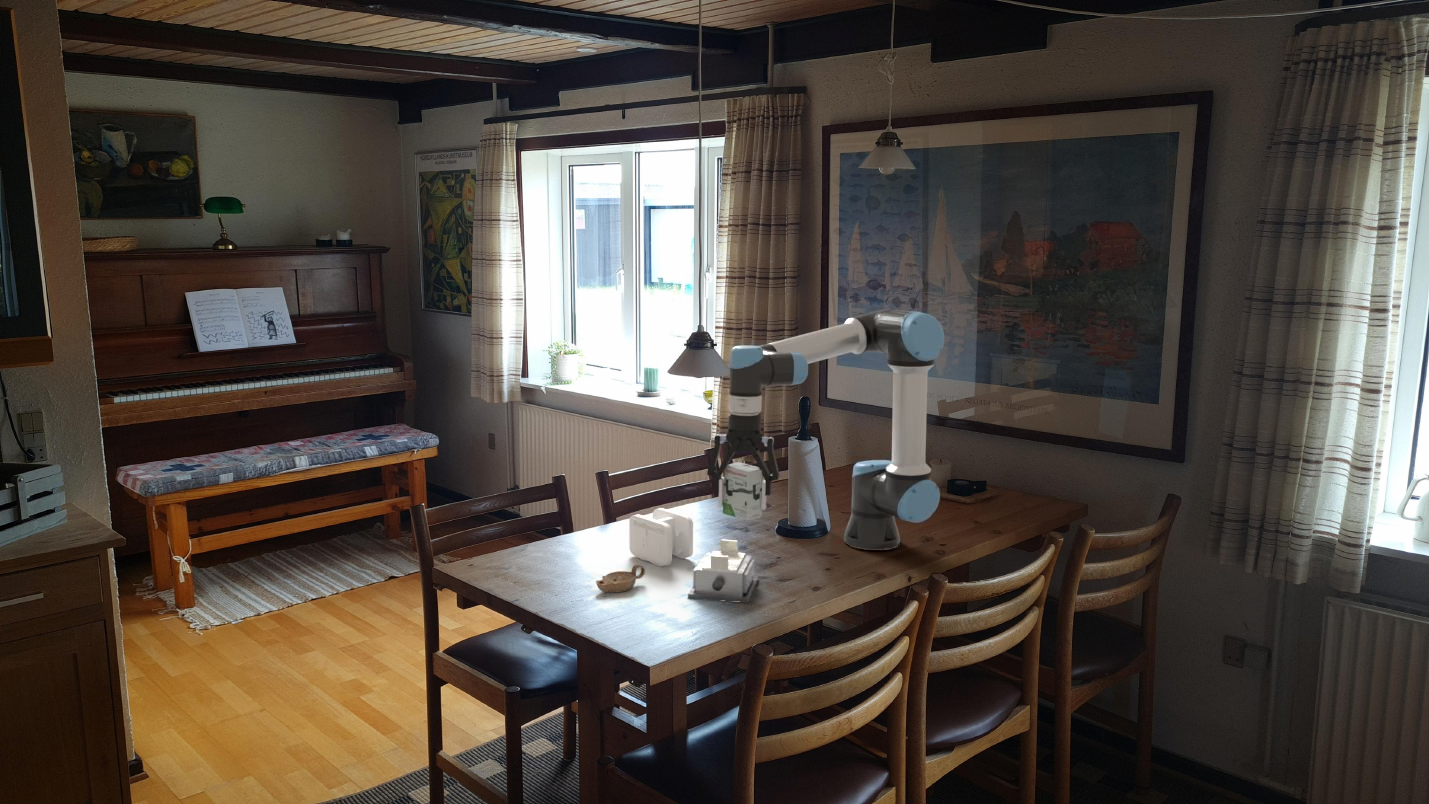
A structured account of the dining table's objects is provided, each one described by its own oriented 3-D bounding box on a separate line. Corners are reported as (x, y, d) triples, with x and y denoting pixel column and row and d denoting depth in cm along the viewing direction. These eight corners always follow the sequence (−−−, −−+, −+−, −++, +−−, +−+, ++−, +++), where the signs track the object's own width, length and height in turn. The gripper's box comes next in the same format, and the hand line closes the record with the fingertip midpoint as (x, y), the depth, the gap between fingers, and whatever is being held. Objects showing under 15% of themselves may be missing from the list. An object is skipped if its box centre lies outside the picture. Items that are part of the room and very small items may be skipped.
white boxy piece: (758, 579, 241) (759, 540, 239) (747, 604, 225) (747, 561, 223) (702, 575, 243) (702, 535, 242) (687, 598, 227) (687, 557, 226)
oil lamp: (604, 598, 227) (604, 578, 226) (589, 589, 233) (588, 569, 232) (652, 587, 234) (652, 567, 234) (636, 578, 240) (636, 559, 240)
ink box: (721, 513, 232) (722, 464, 230) (735, 509, 236) (737, 461, 234) (748, 521, 226) (750, 471, 224) (762, 517, 230) (764, 468, 228)
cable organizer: (695, 561, 254) (696, 517, 252) (665, 570, 246) (665, 526, 245) (657, 547, 264) (657, 506, 262) (627, 556, 257) (626, 513, 255)
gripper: (694, 412, 225) (693, 507, 229) (790, 418, 222) (787, 514, 225) (701, 407, 233) (699, 499, 236) (794, 412, 229) (790, 506, 232)
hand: (742, 506), depth 231 cm, fingers closed on ink box, 9 cm apart
